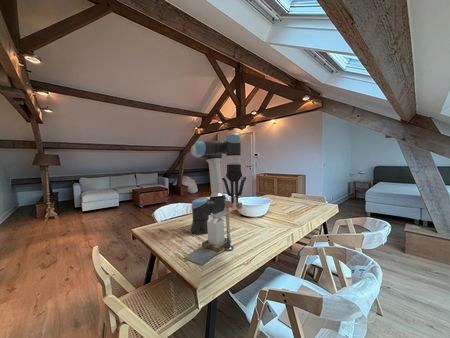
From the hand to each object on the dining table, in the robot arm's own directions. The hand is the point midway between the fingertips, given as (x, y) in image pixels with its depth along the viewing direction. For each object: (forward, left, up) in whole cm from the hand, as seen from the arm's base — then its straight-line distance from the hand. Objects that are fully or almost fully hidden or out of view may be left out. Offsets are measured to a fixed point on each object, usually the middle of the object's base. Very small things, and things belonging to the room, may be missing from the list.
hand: (234, 208), depth 97 cm
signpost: (-4, -1, -24) cm, 25 cm away
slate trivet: (-16, -10, -25) cm, 32 cm away
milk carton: (-16, +4, -25) cm, 30 cm away
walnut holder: (-16, +4, -25) cm, 30 cm away
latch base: (-7, +4, -25) cm, 26 cm away
